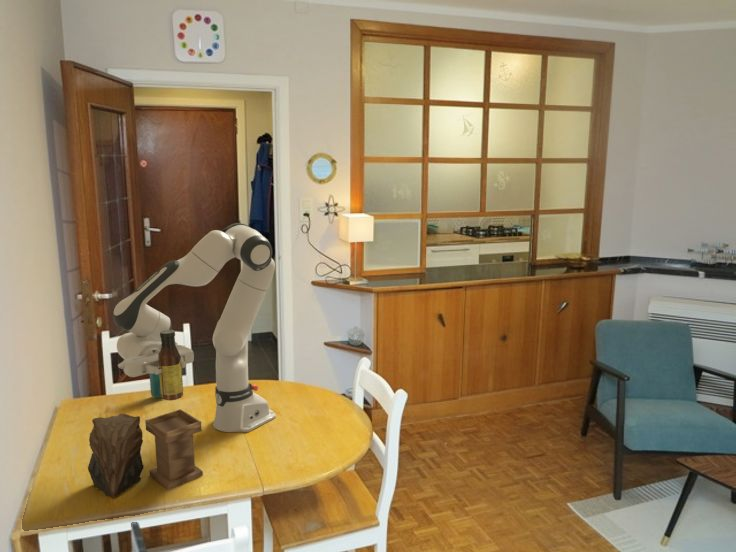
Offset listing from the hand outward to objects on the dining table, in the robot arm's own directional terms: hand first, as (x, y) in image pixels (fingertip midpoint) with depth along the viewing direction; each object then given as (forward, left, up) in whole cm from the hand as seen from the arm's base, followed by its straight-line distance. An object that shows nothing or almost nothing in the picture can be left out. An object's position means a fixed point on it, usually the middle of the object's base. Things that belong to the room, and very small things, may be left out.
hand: (171, 368), depth 170 cm
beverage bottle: (-24, -59, -34) cm, 72 cm away
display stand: (0, -1, -34) cm, 34 cm away
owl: (+15, -8, -34) cm, 38 cm away
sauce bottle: (0, -1, -9) cm, 9 cm away
